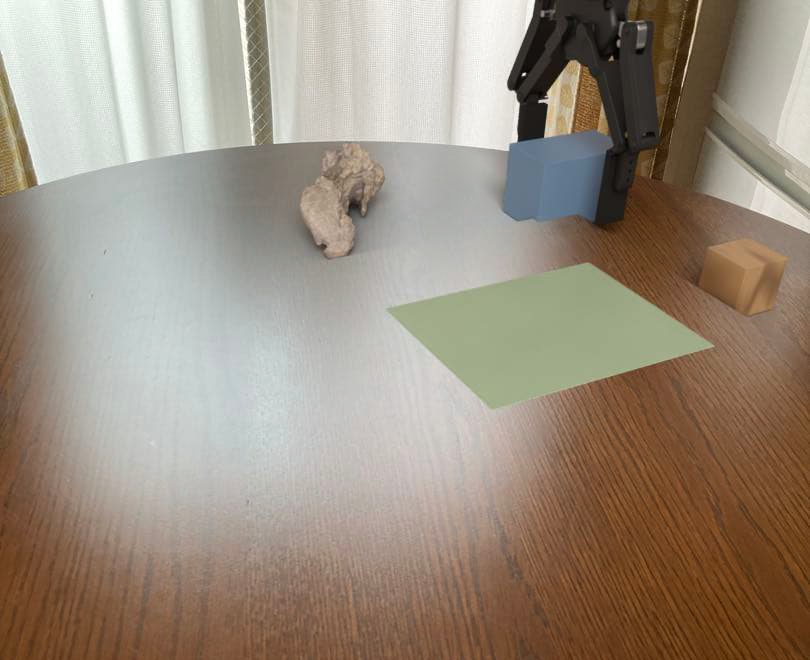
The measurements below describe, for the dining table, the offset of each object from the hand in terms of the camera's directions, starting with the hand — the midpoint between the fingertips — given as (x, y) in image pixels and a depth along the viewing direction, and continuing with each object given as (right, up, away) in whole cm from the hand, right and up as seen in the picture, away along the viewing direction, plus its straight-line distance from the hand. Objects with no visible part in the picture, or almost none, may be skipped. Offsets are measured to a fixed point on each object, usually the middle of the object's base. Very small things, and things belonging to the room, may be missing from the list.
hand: (565, 196), depth 90 cm
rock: (-21, -4, -2) cm, 22 cm away
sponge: (0, -1, +1) cm, 2 cm away
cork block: (+10, -13, -15) cm, 22 cm away
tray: (-5, -18, -18) cm, 26 cm away
